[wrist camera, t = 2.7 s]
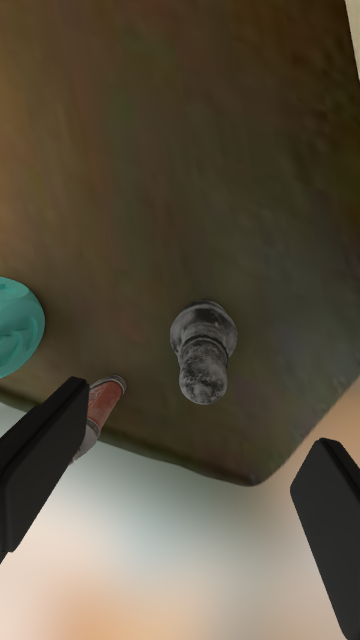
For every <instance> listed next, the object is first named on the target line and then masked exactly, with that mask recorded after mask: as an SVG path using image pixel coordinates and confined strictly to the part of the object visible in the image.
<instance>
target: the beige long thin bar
mask: <svg viewBox="0 0 360 640" xmlns="http://www.w3.org/2000/svg"><path fill="white" fill-rule="evenodd" d="M345 2H346V7H347V13H348V19H349V24H350V30H351V36H352V41H353V47H354V53H355V58H356V64H357V70H358V75H359V81H360V0H345Z"/></svg>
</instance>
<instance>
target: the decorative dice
mask: <svg viewBox="0 0 360 640" xmlns="http://www.w3.org/2000/svg"><path fill="white" fill-rule="evenodd" d="M44 328H45V316H44V312H43V310H42V307H41V305H40V303H39V301H38V299H37V298H36V297H35V295H34V294H33V293H32V292H31V291H30V290H29V289H28V288H27V287H26V286H25V285H23V284H21V283H19V282H17V281H14V280H11V279H8V278H4V277H0V378H2V377H5V376H7V375H9V374H11V373H13V372H14V371H16V370H17V369H19V368H20V367H21V366H22V365H23V364H25V363H26V362H27V360H28V359H29V358H30V357H31V356H32V355H33V353H34V352H35V350H36V349H37V347H38V345H39V343H40V341H41V339H42V336H43V333H44Z"/></svg>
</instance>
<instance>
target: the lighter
mask: <svg viewBox="0 0 360 640" xmlns="http://www.w3.org/2000/svg"><path fill="white" fill-rule="evenodd" d="M125 390H126V383H125V381H124V380H123V379H122V378H121V377H119V376H117V375H111V376H108V377H106V378H103V379H101V380H99V381H97V382H96V383H94V384H92V385H90V392H89V402H88V413H87V423H86V433H85V438H84V440H83V442H82V444H81V446H80V447H79V449H78V451H77V452H76V454H75V456H74V457H73V459H72V460H71V462H70V464H72V463H73V462H74V461H75V460H77V459H78V458H79V457H81V456H82V455H84V454H85V453H86V452H87V451H88V450H89V449H90V448H92V447H93V445H95V443H96V441H97V440H98V438H99V436H100V430H101V428H102V427H103V425H104V423H105V421H106V420H107V418H108V416H109V414H110V413H111V411H112V409H113V408H114V406H115V404H116V402H117V401H118V400H119V399H120V398H121V397H122V395H123V394H124V392H125ZM70 464H69V465H70ZM69 465H68V466H69Z"/></svg>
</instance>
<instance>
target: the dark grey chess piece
mask: <svg viewBox="0 0 360 640" xmlns="http://www.w3.org/2000/svg"><path fill="white" fill-rule="evenodd" d="M170 341H171V345H172V348H173V350H174V352H175V353H176V354H177V356H178V362H179V365H180V367H181V370H180V375H179V384H180V388H181V390H182V392H183V394H184V395H185V396H186V397H187V398H188V399H189V400H191V401H193V402H195V403H198V404H211V403H214V402H216V401H218V400H219V399H220V398H221V397H223V395H224V393H225V392H226V388H227V374H226V368H227V366H228V363H229V357H230V356H231V354H232V353H233V351H234V350H235V347H236V344H237V330H236V326H235V324H234V322H233V321H232V319H231V318H230V316H229V315H228V314H227V313H226V312H225V310H224V309H223V308H222V307H221V306H220V305H219V304H217V303H215V302H213V301H209V300H197V301H194V302H192V303H190V304H189V305H187V306H186V307H185V308H184V309H183V310H182V312H181V313H180V314H179V316H178V317H177V318H176V319H175V321H174V323H173V325H172V327H171V332H170Z"/></svg>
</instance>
